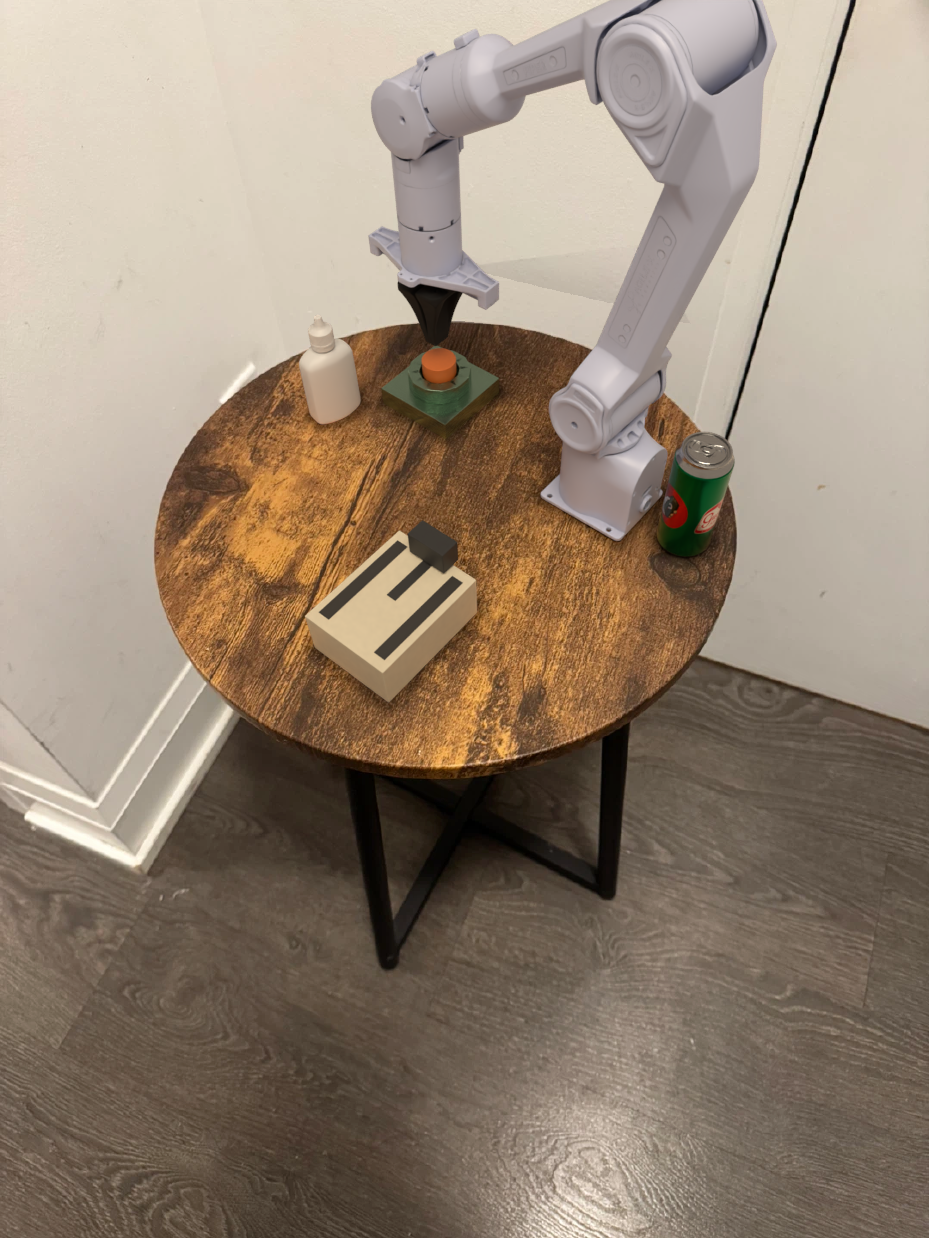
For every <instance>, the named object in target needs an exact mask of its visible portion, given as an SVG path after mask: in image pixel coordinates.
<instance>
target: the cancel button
mask: <svg viewBox="0 0 929 1238" xmlns="http://www.w3.org/2000/svg"><path fill="white" fill-rule="evenodd" d="M430 349H431V348H430ZM430 349H429V350H427V351H425V352H426V353H425V354H424V355H423V357H422V373H423V376H424V378H425V379H426V380H427V381H429V382H431V383H440V384H441V383H445V382H448V381H451V380H452V379H453V378H454V377H455V375H456V372H457V370H456V357H455V355H454V353H453V352H451V351H450V350H451V349H447V348H445V347H444V348H443V347H441V348H435V349H431V350H430Z"/></svg>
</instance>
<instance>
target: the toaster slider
mask: <svg viewBox="0 0 929 1238" xmlns="http://www.w3.org/2000/svg"><path fill="white" fill-rule="evenodd" d="M407 536H408V542H409V549H410V552H411V553H413V554H414V555H416V556H417V557H419V558H420V559H422V560H424V561H425V562H427V563H428V564H430V565H431V566H433V567H434V568H436V569H437V570H439V571H440V572H442V573H445V572H446V571H447V570H448V569H449V568H450V567H451V566H452V565H455V564H456V563H457V562H458V561H459V550H458V549H459V548H458V542H457V540H455V539H453V538H452V537H450V536H449V535H447V534H445V533H444V532H442V531H441V530H439V529H438V528H436V527H435V526H433V525H431V524H429V523H428V522H426V521H425V520H423V519H422V520H421V521H420V522H418V523H417V524H416V525H415V526H414V527H413V528H412V529H411V530H410V531H409V532H408V533H407Z"/></svg>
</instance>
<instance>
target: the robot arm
mask: <svg viewBox="0 0 929 1238" xmlns="http://www.w3.org/2000/svg"><path fill="white" fill-rule="evenodd" d="M453 45H454V48H452V49H449V50H447V51H446V52H443V53H441V54H439V55H437V53H436V51H434V50H430V51H428V52H426V53H424V54H422V55H420V56H418V57H417V59H416V64H415V65H413V66H411V67H409V68H408V69H405V70H403V71H401V72H400V73H398V74H395V75H394V76H393V77H391V78H385V79H383V80H382V82H381V84H380V85H379V86H377V87H376V88H375V89H374V91H373V93H372V96H371V101H370V113H371V119H372V123H373V125H374V128H375V131H376V132H377V135H378V138H379V139H380V140H381V142H382V143H383V145H384V146H385V147H386V149H387V150H389V151H390V158H391V169H392V179H393V188H394V190H393V191H394V198H395V199H394V200H395V208H396V209H395V211H396V219H397V230H394V229H391V228H388V227H385V226H383V225H381V226H380V227H378V228H377V229H375V230H374V231H373V232H371V233H370V234H368V235H367V236H368V237H367V238H368V244H369V250H370V254H372V255H374V256H375V257H380V256H382V255H384V256H385V257H386V258H387V259H388V260H389V261H390V263H392V264H393V265H394V267H396V269H397V270H398V272H397V274H396V275H397V284H396V285H397V290H398V291H399V292H400V293H401V295H402V296H403V297H404V298H405V300H406V301H407V303H408V304H409V307H410V308H411V309H412V311H413V313H414V316H415V317H416V319H417V322H418V324H419V327H420V329H421V333H422V334H423V337H424V340H425V342H426V343H429V344H430V345H431V346H433V347H434V346H439V345H440V344H442V343H443V342H444V341H446V339H448V338H449V335H450V329H451V325H452V320H453V318H454V314H455V311H456V309H457V306H458V304H459V301H460V299H461V297H462V296H463V294H464V295H466V296H468V297H470V298H471V299H474V300H476V301H477V306H478V307H479V308H481V309H482V310H485V311H487V310H488V309H489V308H490V307H492V306H493V305H495V304H496V303H497V302H499V300H500V281H498V280H497V279H495V278H493V277H491V276H490V275H488V273H486V272H485V271H484V270H483V269H482V268H481V266H479V265H478V264H477V262H475V261H474V260H473V259H472V258H471V256H469V255H468V254H467V253H466V252H465V251H464V250H463V235H462V234H463V233H462V231H463V229H462V204H461V178H460V177H461V176H460V175H461V173H460V154H461V152H462V150H464V149H465V148H464V147H465V145H464V144H465V142H464V141H465V140H464V137H465V136H468V135H471V134H474V133H478V132H480V131H484V130H486V129H490V128H493V127H495V126H500V125H502V124H506V123H509V122H510V121H512V120H514V118H516V117H517V115H518V114H519V113H520V111H521V110H522V108H523V106H524V104H525V101H526V97H527V96H530V95H534V94H537V93H541V92H543V91H547V90H552V89H555V88H558V87H562V86H565V85H569V84H573V83H576V82H579V81H584V83H585V88H586V92H587V95H588V99H589V101H590V103H591V104H593V105H595V106H598V105H600V104H602V103H603V105H604V107H605V108H606V110H607V112H608V114H609V116H610V117H611V119H612V120H613V122H614V123H615V125H616V126H617V128H618V129H619V130H620V132H621V133H622V135H623V136H624V137H625V139H626V141H627V142H628V143H629V145H630V146H631V148H632V149H633V150H634V152H635V153H636V155H637V156H638V158H639V159H640V161H641V162H642V163H643V165H644V166H645V168H646V169H647V170H648V173H650V175H651V176H652V177H653V179H654V181H655V182H656V183H660V184H663V188H662V190H661V193H660V194H659V197H658V199H657V201H656V204H655V207H654V209H653V211H652V213H651V215H650V218H649V220H648V223H647V225H646V228H645V229H644V232H643V233H642V234H643V235H642V237H641V238H640V239H641V240H640V241H639V244H638V246H637V249H636V251H635V253H634V255H633V257H632V260H631V263H630V265H629V268H628V270H627V272H626V273H625V274H626V275H625V277H624V279H623V281H622V284H621V286H620V288H619V291H618V293H617V295H616V297H615V300H614V302H613V305H612V307H611V309H610V312H609V314H608V316H607V319H606V320H605V324H604V325H603V328H602V330H601V333H600V335H599V337H598V340H597V342H596V344H595V346H594V347H593V348H592V349H591V351H590V352H589V353H588V355H587V356H586V357H585V358H584V359H583V361H582V362H581V363H580V365H578V366H577V368H576V369H575V370H574V372H573V373H572V374H571V376H570V378H569V381H568V383H567V385H566V386H564V387H563V388H561V389H559V390H558V391H556V392H555V393H553V395H552V396H551V398H550V399H549V403H548V415H549V419H550V423H551V425H552V427H553V429H554V432H555V433H556V435H557V436H558V437H559V438H560V440H561V441H562V446H561V459H560V469H559V470H560V471H559V474H558V475H557V476H556V477H555V478H554V479H553V480H552V481H551V482H549V483H548V485H546V487H544V489H542V490H541V492H540V498H541V499H542V500H544V501H545V502H547V503H549V504H551V505H553V506H554V507H556V508H558V509H559V510H561V511H563V512H564V513H566V514H568V515H569V516H571V517H573V518H575V519H577V520H578V521H580V522H582V523H584V524H585V525H587V526H589V527H591V528H592V529H594V530H596V531H598V532H599V533H601V534H602V535H604V536H606V537H608V538H609V539H611V540H612V541H615V542H619V541H621V540H622V539H624V538H625V537H626V535H628V533H630V531H631V530H632V529H633V527H635V526H636V524H637V523H638V522H639V521H640V520H641V519H642V518H643V517H644V516H645V515H646V514H647V512H649V510H650V509H651V508H652V507H653V506H654V505H655V504H656V503H657V502H658V501H659V500H660V499H661V497H662V496H663V493H664V491H663V490H662V489H661V487H662V483H663V479H664V475H665V469H666V466H667V461H668V450H667V448H666V447H664V446H663V445H661V444H660V443H659V442H657V441H656V440H655V439H654V438H653V437H652V435H651V434H650V433H649V432H648V431H647V430H646V428H645V425H646V418H647V417H648V413H649V408H650V405H652V404H654V403H655V402H657V401H658V400H659V399H661V398H662V396H663V394H664V393H665V390H666V388H667V368H668V365H669V363H670V361H671V359H672V356H673V354H672V352H671V351H670V350H669V349H670V348H668V347H667V346H668V345H669V342H670V340H671V338H672V337H673V335H674V333H675V331H676V330H677V328H678V326H679V324H680V322H681V320H682V318H683V316H684V314H685V312H686V311H687V308H688V306H689V305H690V303H691V301H692V299H693V297H694V295H695V293H697V292H696V291H697V290H698V288H699V287H700V284H701V282H702V281H703V278H704V276H705V275H706V274H707V272H708V269H709V267H710V266H711V264H712V262H713V260H714V258H715V256H716V254H717V252H718V251H719V249H720V247H721V245H722V243H723V241H724V239H725V237H726V236H727V234H728V232H729V230H730V228H731V226H732V224H733V223H734V221H735V219H736V217H737V215H738V213H739V212H740V209H741V207H742V206H743V204H744V202H745V200H746V198H747V196H748V194H749V193H750V190H751V189H752V187H753V184H754V183H755V181H756V178H757V175H758V172H759V169H760V157H761V156H760V155H761V138H762V137H761V136H762V122H763V121H762V120H763V104H764V103H763V102H764V84H765V79H766V77H767V73H768V72H769V68H770V66H771V63H772V60H773V58H774V54H775V52H776V49H777V46H778V43H777V40H776V37H775V34H774V31H773V27H772V24H771V22H770V17H769V15H768V13H767V9H766V6H765V4H764V0H607V1H605V2H603V3H601V4H598V5H597V6H595V7H592V8H590V9H588V10H586V11H584V12H582V13H580V14H577V15H575V16H573V17H571V18H569V19H567V20H565V21H563V22H561V23H559V24H556V25H554V26H552V27H549V28H548V29H546V30H543V31H542V32H540V33H537V34H535V35H533V36H531V37H529V38H527V39H525V40H521V41H520V42H518V43H516V44H513V43H512V42H511V41H510V40H508V38H506V37H505V36H502V35H500V34H497V33H486V34H483V35H481V36H480V33H479V30H478V29H477V28H473V29H471V30H469V31H467V32H465V33H462V34H461V35H459V36H457V37H455V38H454V39H453Z"/></svg>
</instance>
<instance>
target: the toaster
mask: <svg viewBox="0 0 929 1238" xmlns="http://www.w3.org/2000/svg"><path fill="white" fill-rule="evenodd" d="M477 592H478V590H477V579H475V578H474V577H473V576H471V575H469V574H468V573H467V572H465V571H464V570H462V569H460V568H458V567H457V566H455V564H453V565H452V566H451V567H450V568H449V569H448V570H447V571H446V572H445V573H442V572H440V571H439V570H437V569H436V568H434V567H433V566H431V565H430V564H428V563H427V562H425V561H424V560H422V559H420V558H419V557H417V556H416V555H414V554H413V553H411V552H410V549H409V542H408V534H405V532H403V531H401V530H398V531H397V532H395V533H394V534H393V536H391V537H390V538H389V539H388V540H386V542H384V544H382V545H381V546H380V547H379V548H378V549H377V550H376V551H375V552H374V553H372V554H371V555H370V556H369V557H368V558H367V559H366V560H365V561H364V562H363V563H362V564H361V565H359V566H358V567H357V568H355V570H354V571H353V572H351V574H349V575H348V576H347V577H346V578H345V579H344V580H343V581H342V582H341V583H339V584H338V585H337V586H336V587H335V588H334V589H333V590H332V591H330V592H329V593H328V594H327V595H326V596H325V597H324V598H323V599H322V600H321V601H320V602H319V603H318V604H316V605H315V606H314V607H313V608H312V609H311V610H310V611H308V613H306V614H305V615H304V618H305V621H306V624H307V628H308V631H309V634H310V637H311V640H312V643H313V646H314V648H315V649H316V650H317V651H318V652H320V653H321V654H323V655H324V656H325V657H327V658H328V659H330V660H331V661H332V662H334V663H335V664H336V665H337V666H339V667H340V668H341V669H343V670H344V671H345V672H347V673H348V674H350V675H351V676H352V677H353V678H355V679H356V680H357V681H359V682H360V683H361V684H363V685H364V686H365V687H367V688H368V689H369V690H371V691H372V692H373V693H374V694H376V695H378V696H379V697H380V698H382V699H383V700H384V701H386V702H387V703H390V702H391V701H392V700H393V699H394V698H395V697H396V696H397V695H398V694H399V693H400V692H401V691H402V690H403V689H404V688H405V687H406V686H407V685H408V684H409V683H410V681H412V680H413V679H414V678H415V677H416V676H417V675H418V674H419V672H421V670H423V668H424V667H425V666H426V665H428V664H429V663H430V662H431V660H432V659H433V658H434V657H435V656H437V654H438V653H439V652H440V651H441V650H442V649H443V648H444V647H445V646H446V645H447V644H448V643H449V642H450V641H451V640H453V638H454V637H455V636H456V635H457V634H458V633H459V632H460V631H461V630H462V629H463V628H464V627H465V626H466V625H467V624H468V623H469V622H470V620H472V618H474V616H475V615H476V614H477V613H478V593H477Z"/></svg>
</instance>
